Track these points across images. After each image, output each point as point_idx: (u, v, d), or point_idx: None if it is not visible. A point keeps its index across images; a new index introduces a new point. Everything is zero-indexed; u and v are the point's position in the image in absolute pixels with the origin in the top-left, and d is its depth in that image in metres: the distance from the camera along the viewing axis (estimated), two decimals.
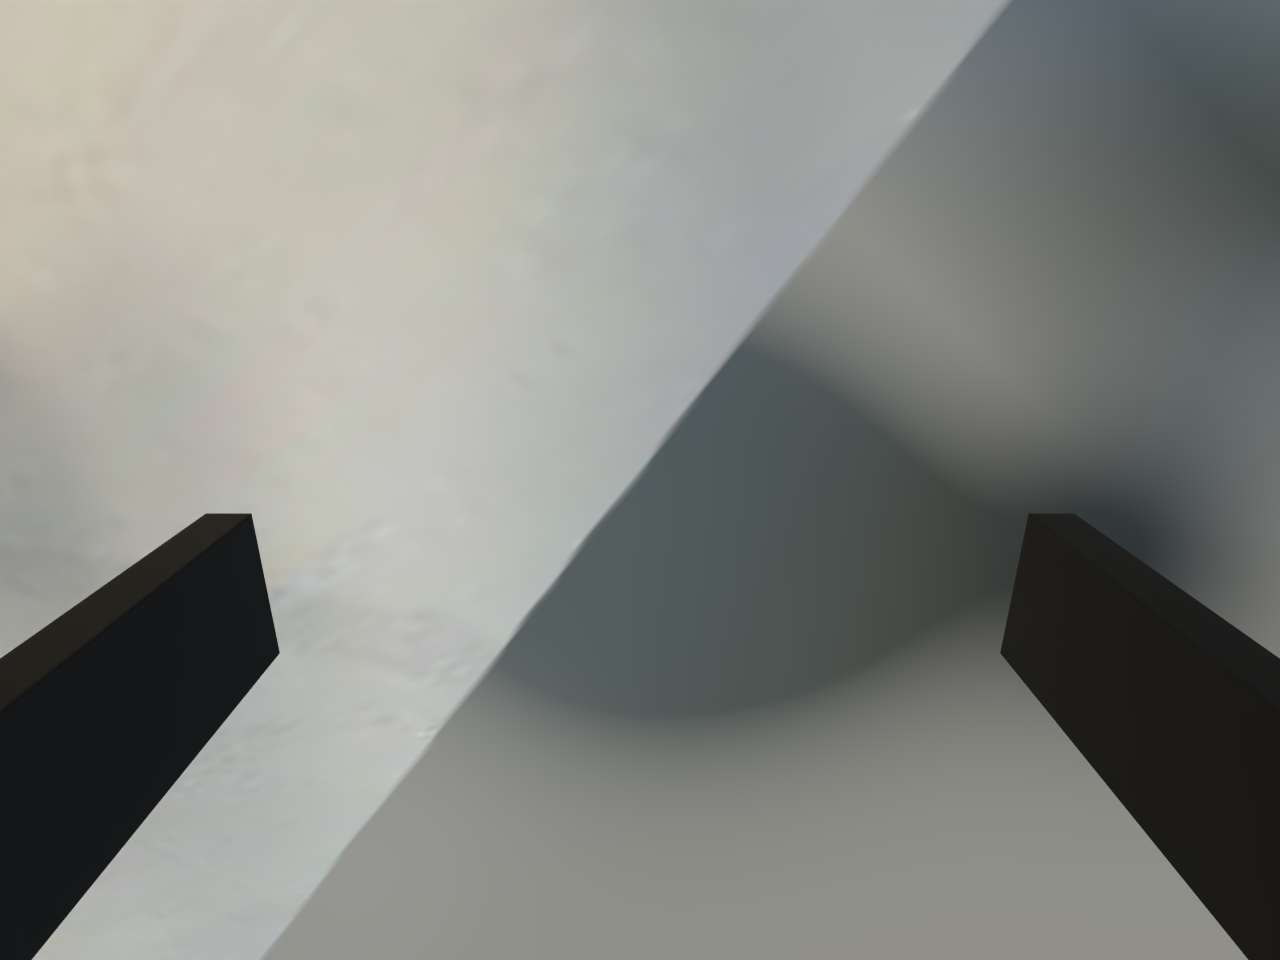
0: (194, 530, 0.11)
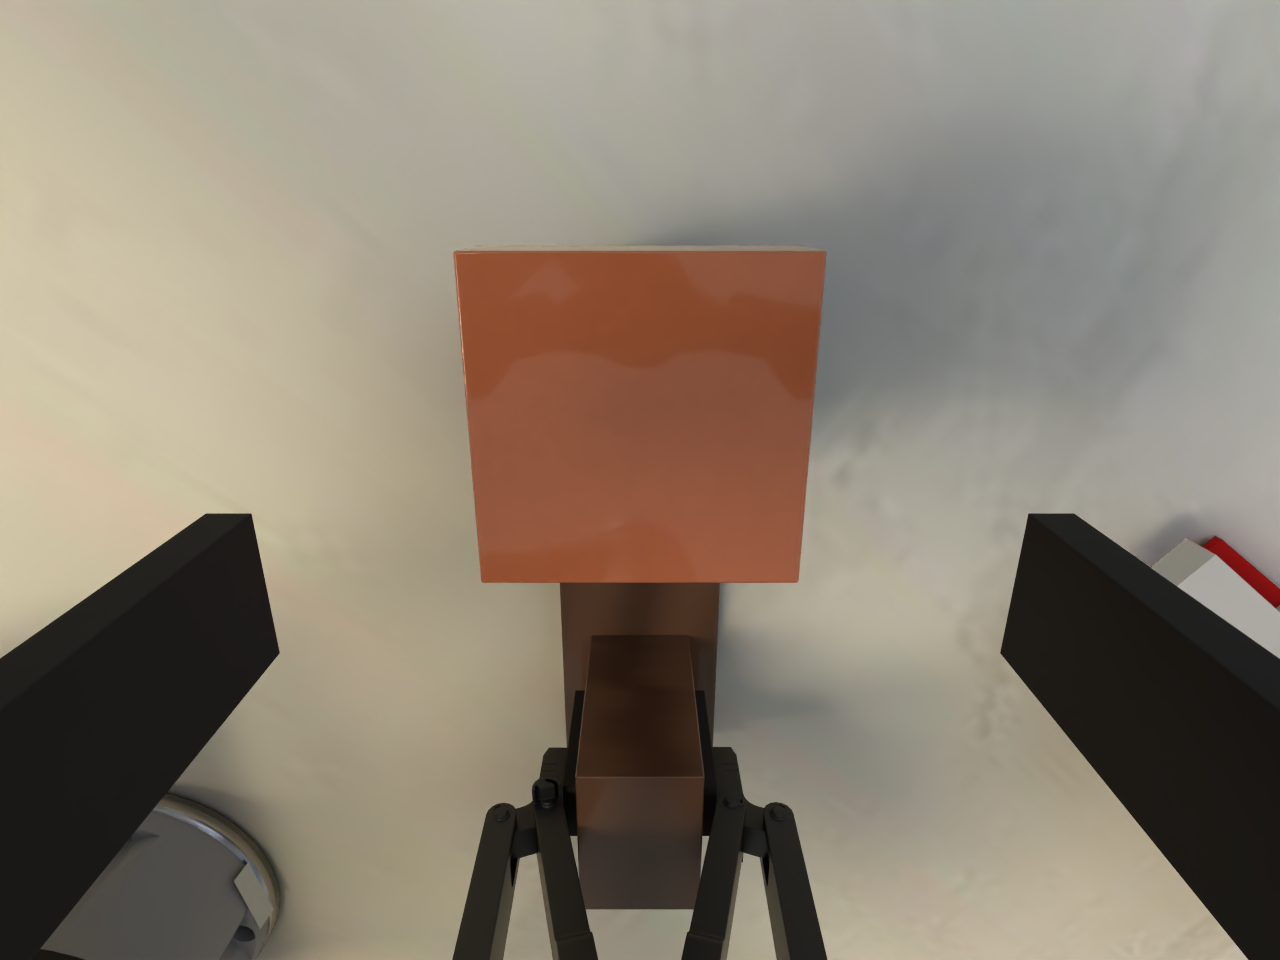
0: (195, 531, 0.11)
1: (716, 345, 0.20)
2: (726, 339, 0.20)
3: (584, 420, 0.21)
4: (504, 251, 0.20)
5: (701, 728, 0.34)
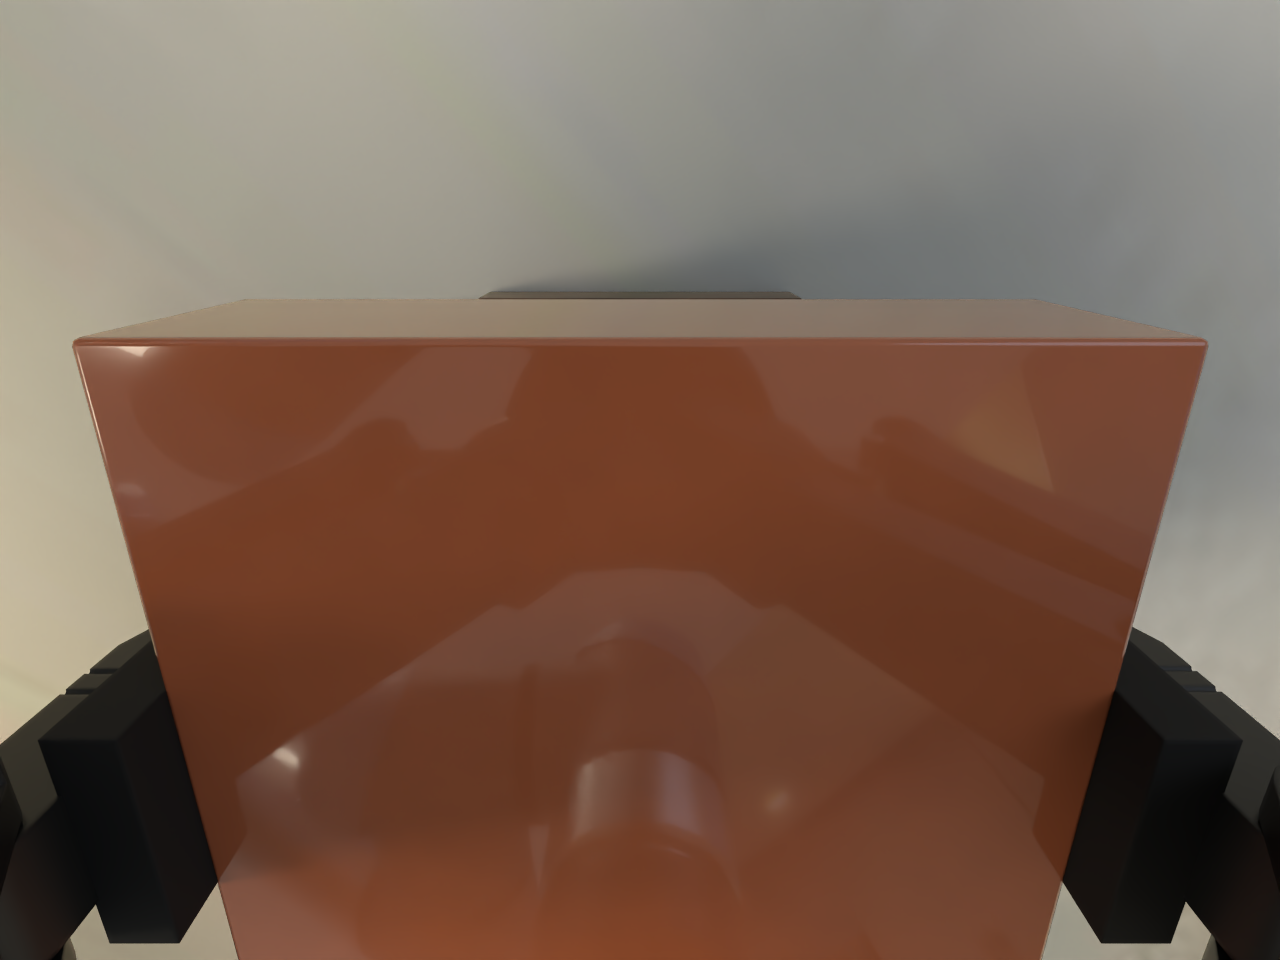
0: None
1: (856, 593, 0.07)
2: (885, 579, 0.07)
3: (494, 768, 0.08)
4: (228, 338, 0.06)
5: None
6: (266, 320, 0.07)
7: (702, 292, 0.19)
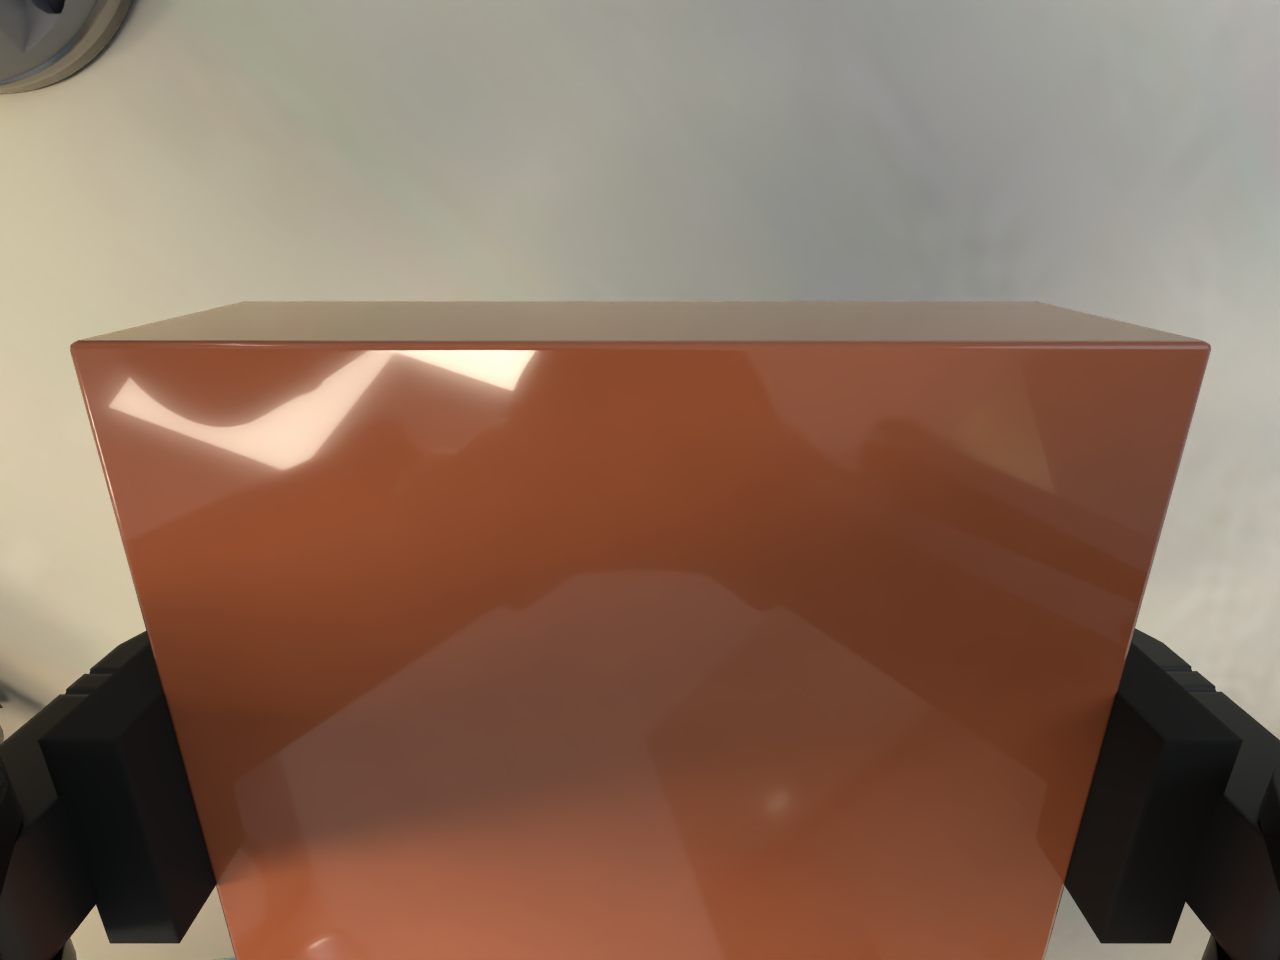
0: None
1: (856, 596, 0.07)
2: (886, 583, 0.07)
3: (493, 772, 0.08)
4: (227, 342, 0.06)
5: None
6: (265, 323, 0.07)
7: None
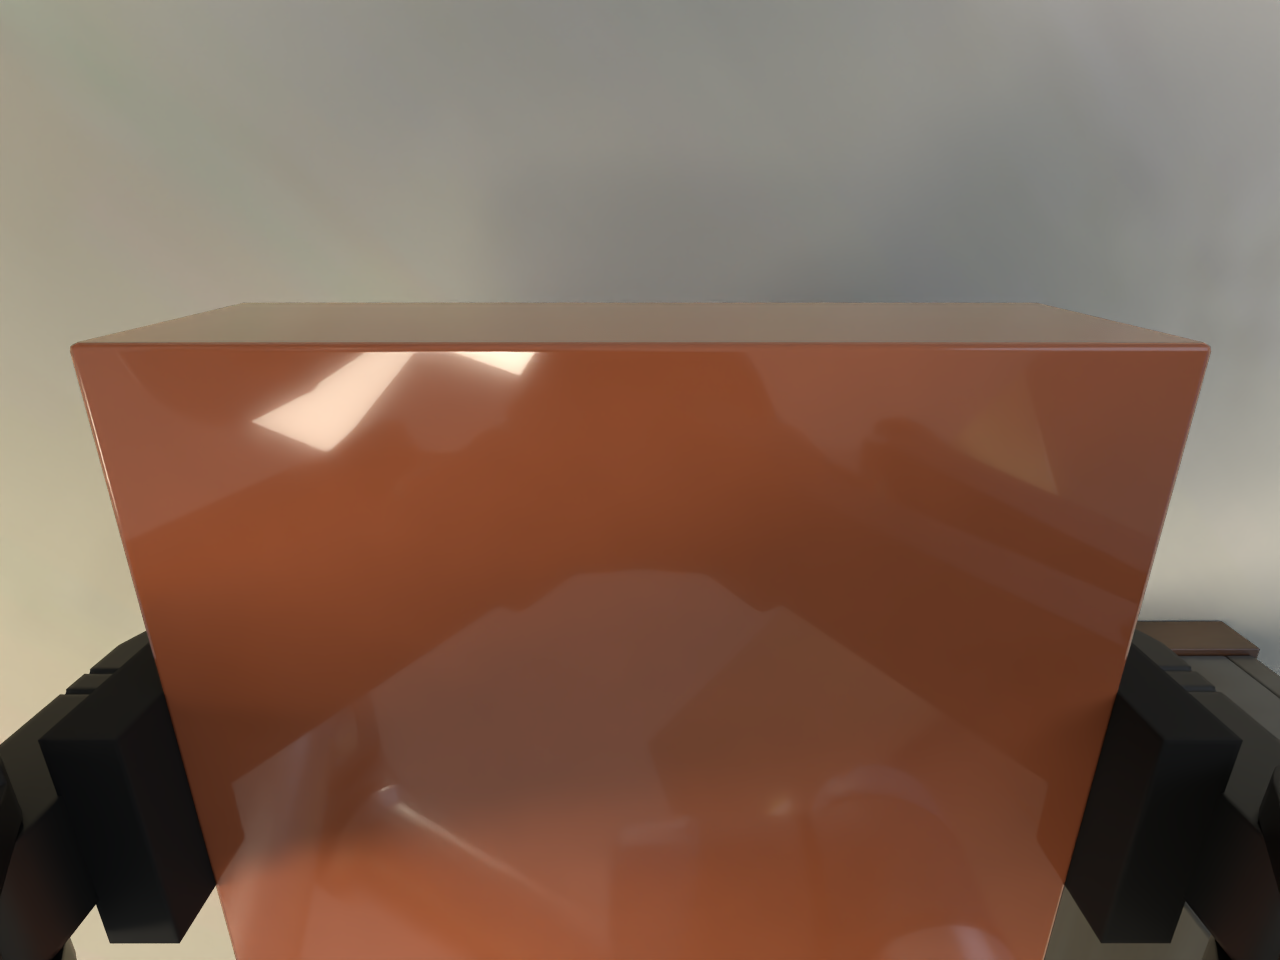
0: None
1: (856, 598, 0.07)
2: (886, 585, 0.07)
3: (494, 774, 0.08)
4: (227, 343, 0.06)
5: None
6: (265, 324, 0.07)
7: (1148, 623, 0.22)
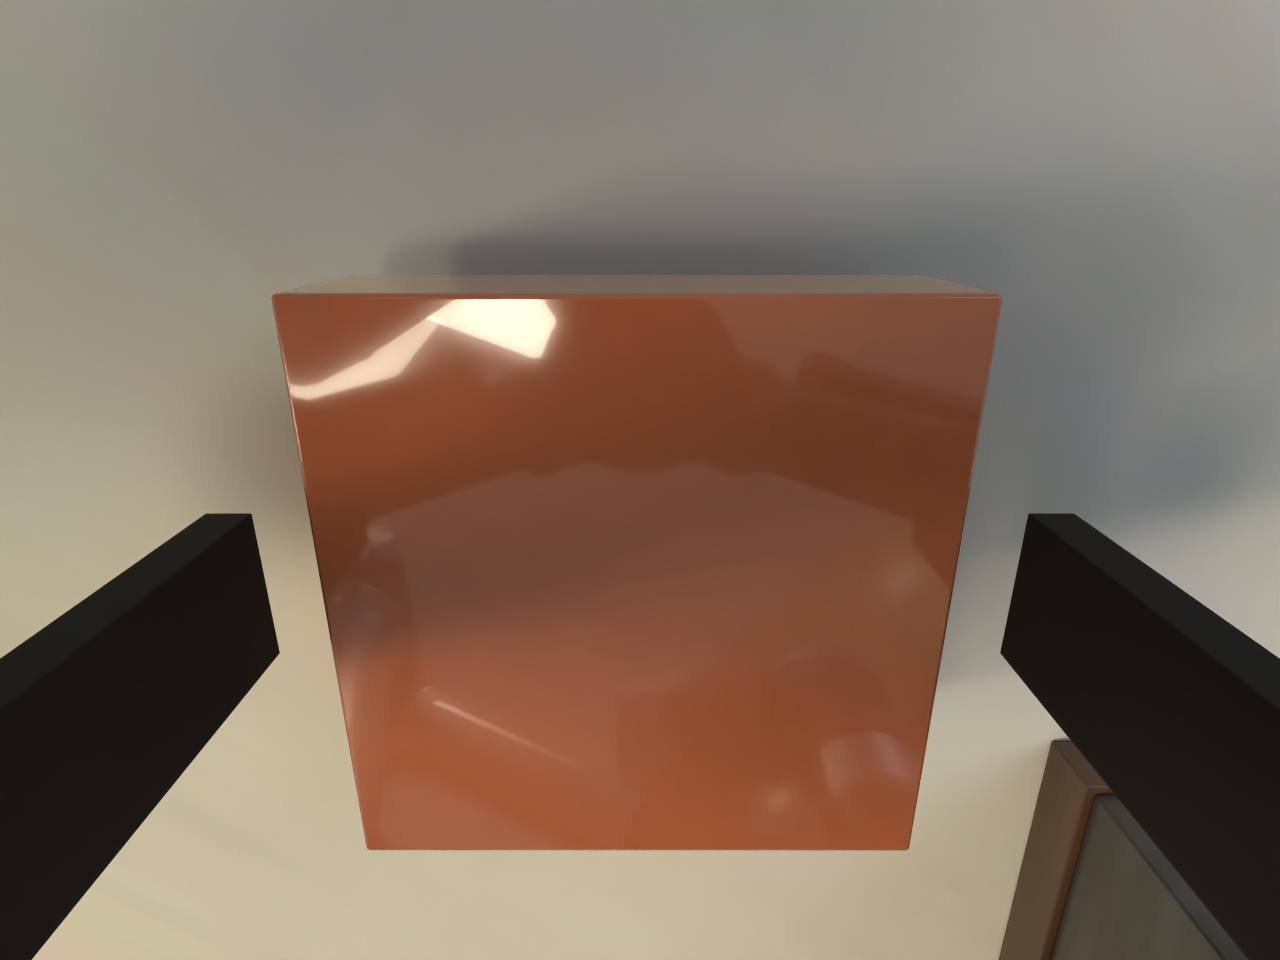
0: (194, 530, 0.11)
1: (782, 467, 0.11)
2: (800, 458, 0.11)
3: (536, 597, 0.12)
4: (371, 294, 0.10)
5: None
6: (384, 285, 0.11)
7: None
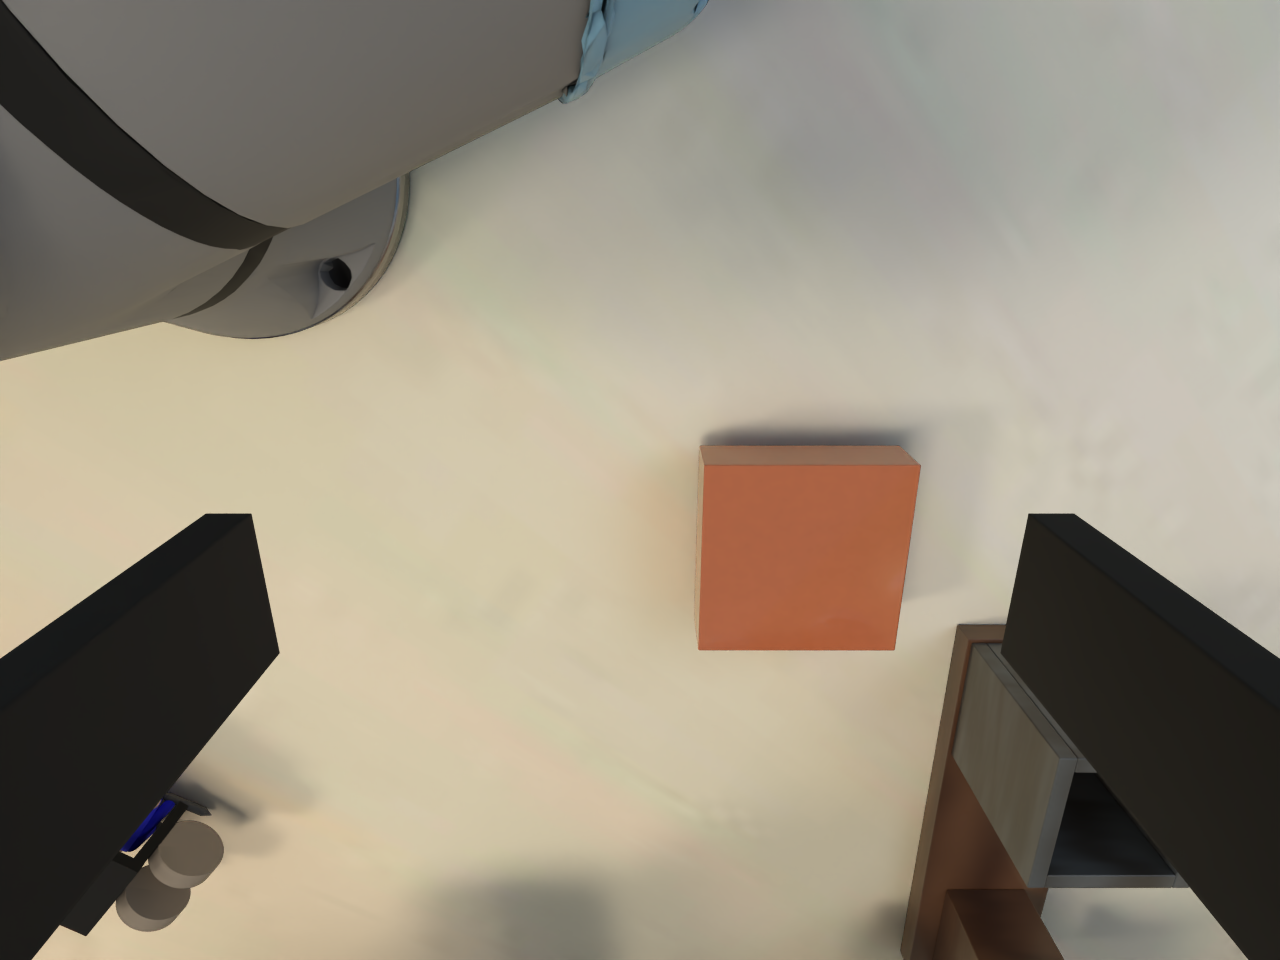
0: (195, 531, 0.11)
1: (853, 515, 0.34)
2: (859, 512, 0.34)
3: (771, 556, 0.35)
4: (733, 464, 0.34)
5: None
6: (727, 457, 0.35)
7: None
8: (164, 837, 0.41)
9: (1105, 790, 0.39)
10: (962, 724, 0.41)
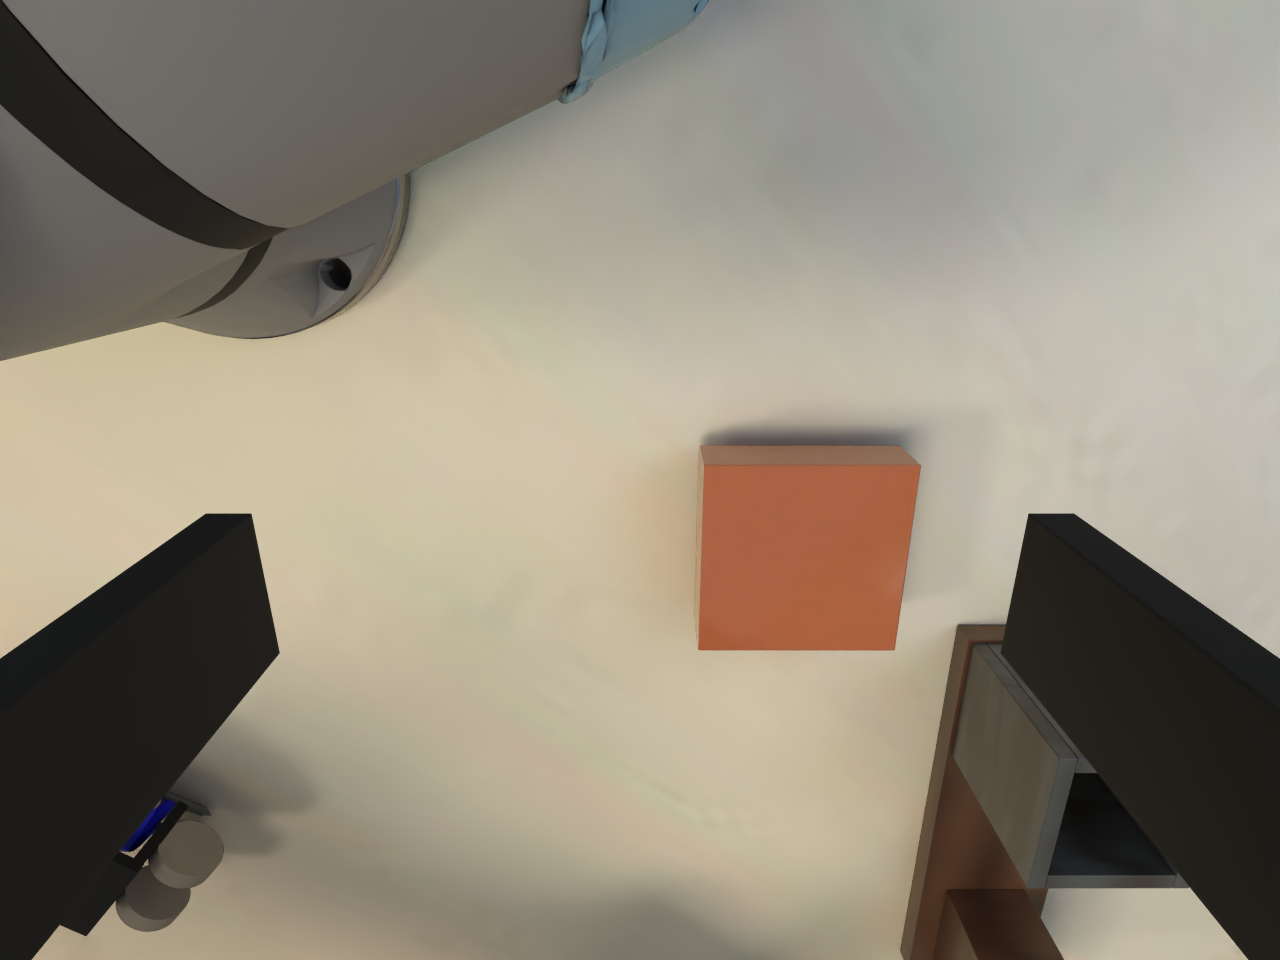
0: (195, 531, 0.11)
1: (853, 515, 0.34)
2: (859, 512, 0.34)
3: (771, 556, 0.35)
4: (733, 464, 0.34)
5: None
6: (727, 457, 0.35)
7: None
8: (164, 837, 0.41)
9: (1105, 790, 0.39)
10: (962, 724, 0.41)
